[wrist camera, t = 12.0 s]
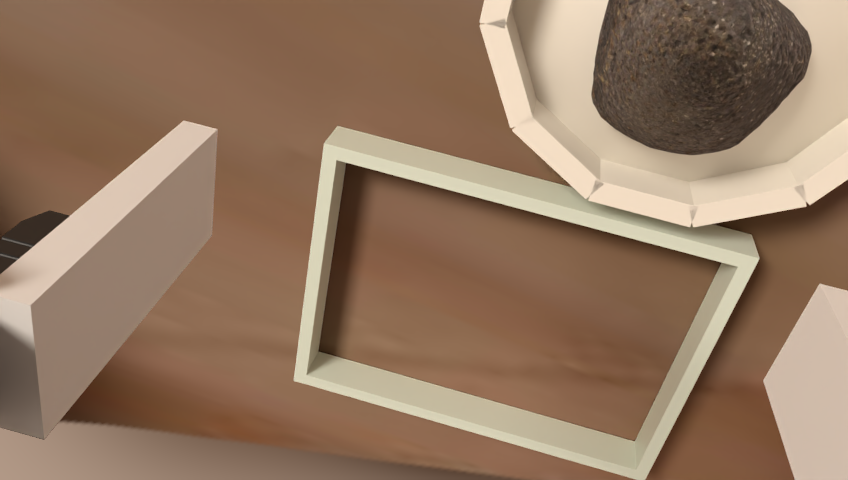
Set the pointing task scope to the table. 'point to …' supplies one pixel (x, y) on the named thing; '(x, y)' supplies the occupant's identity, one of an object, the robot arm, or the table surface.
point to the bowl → (654, 169)
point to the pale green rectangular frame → (540, 199)
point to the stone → (696, 70)
